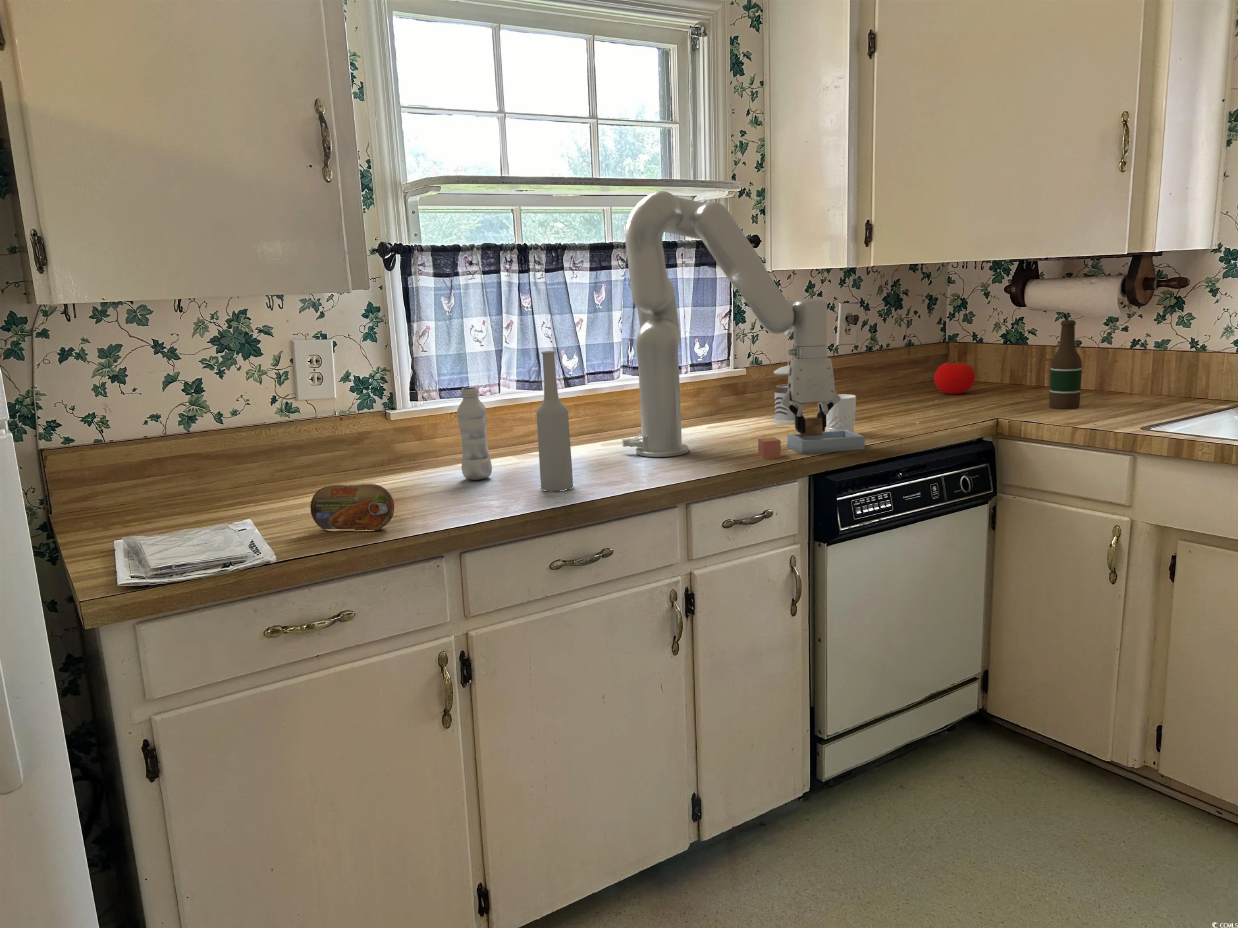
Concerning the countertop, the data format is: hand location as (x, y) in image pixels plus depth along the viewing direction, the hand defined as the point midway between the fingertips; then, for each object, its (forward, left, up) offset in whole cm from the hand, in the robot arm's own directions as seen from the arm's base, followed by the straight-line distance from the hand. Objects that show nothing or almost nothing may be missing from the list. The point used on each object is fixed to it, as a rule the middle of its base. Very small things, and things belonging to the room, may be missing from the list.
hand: (810, 430), depth 212 cm
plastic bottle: (-77, -3, -5) cm, 78 cm away
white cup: (+13, +13, -5) cm, 19 cm away
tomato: (+74, +67, -5) cm, 100 cm away
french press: (+10, +40, -5) cm, 41 cm away
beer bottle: (+85, +28, -5) cm, 89 cm away
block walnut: (0, 0, -1) cm, 1 cm away
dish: (+4, 0, -4) cm, 6 cm away
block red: (-11, -4, -4) cm, 13 cm away
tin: (-99, -37, -5) cm, 106 cm away
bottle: (-61, -18, -5) cm, 64 cm away
